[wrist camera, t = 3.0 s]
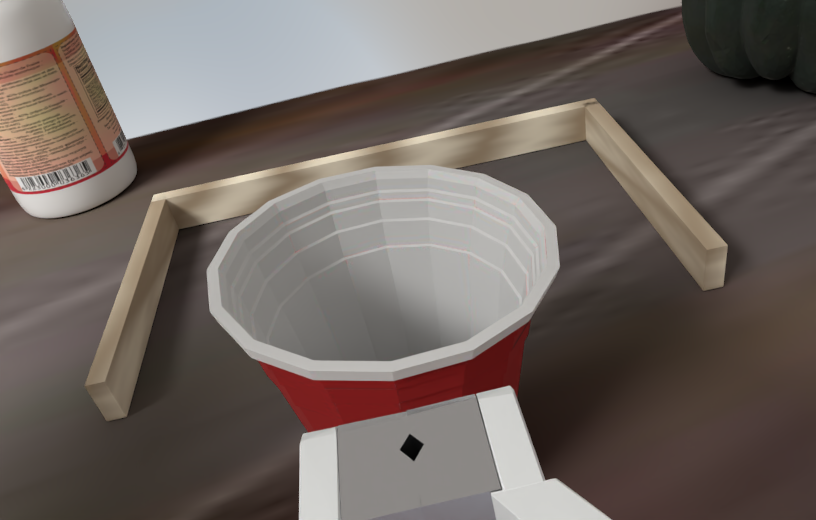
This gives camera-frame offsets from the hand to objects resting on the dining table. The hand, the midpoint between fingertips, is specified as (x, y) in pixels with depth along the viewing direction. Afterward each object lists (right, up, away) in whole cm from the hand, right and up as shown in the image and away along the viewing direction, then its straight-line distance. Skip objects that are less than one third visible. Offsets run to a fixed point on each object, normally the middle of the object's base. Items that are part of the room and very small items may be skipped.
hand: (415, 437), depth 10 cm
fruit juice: (-26, +8, +47) cm, 55 cm away
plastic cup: (+1, -7, +18) cm, 20 cm away
